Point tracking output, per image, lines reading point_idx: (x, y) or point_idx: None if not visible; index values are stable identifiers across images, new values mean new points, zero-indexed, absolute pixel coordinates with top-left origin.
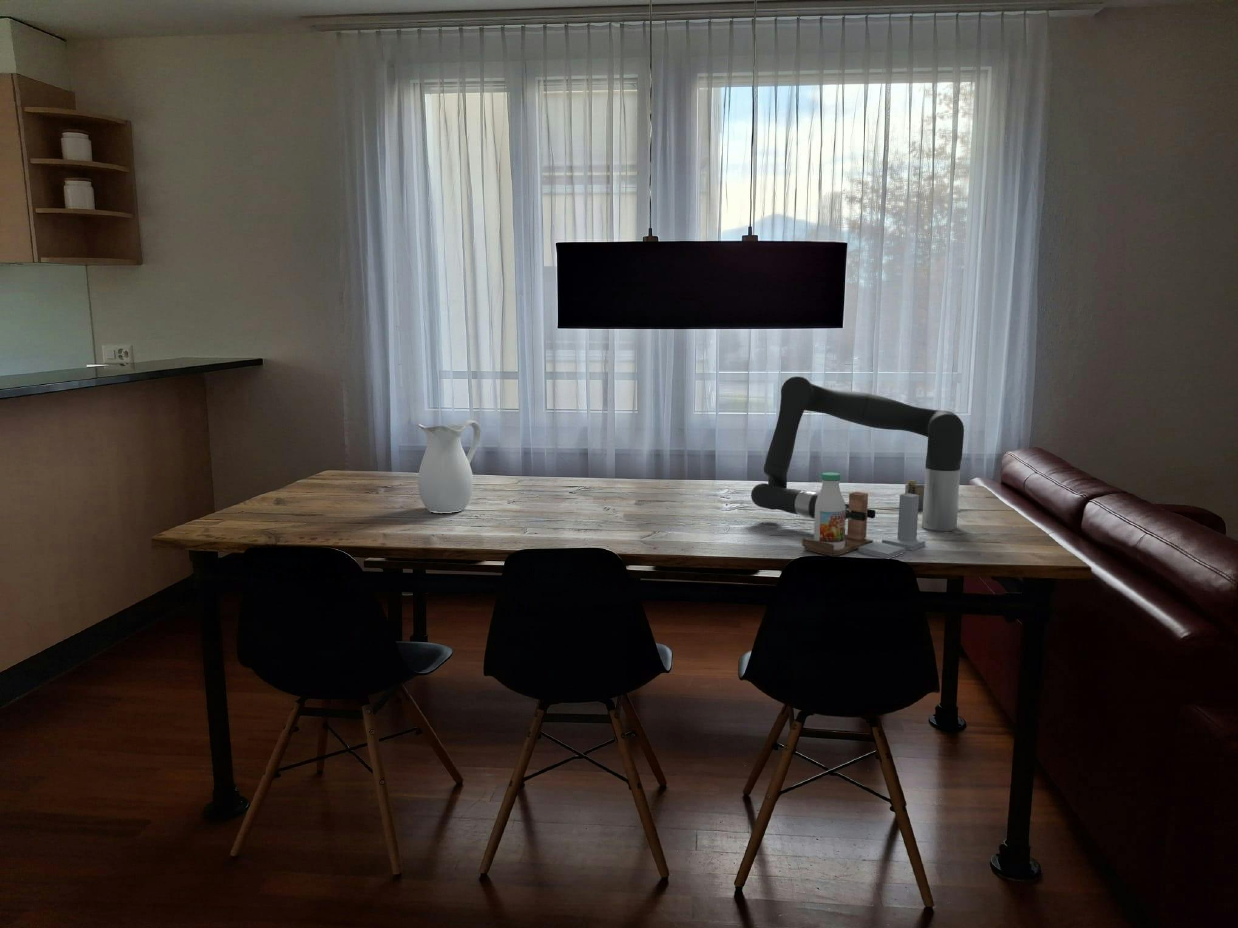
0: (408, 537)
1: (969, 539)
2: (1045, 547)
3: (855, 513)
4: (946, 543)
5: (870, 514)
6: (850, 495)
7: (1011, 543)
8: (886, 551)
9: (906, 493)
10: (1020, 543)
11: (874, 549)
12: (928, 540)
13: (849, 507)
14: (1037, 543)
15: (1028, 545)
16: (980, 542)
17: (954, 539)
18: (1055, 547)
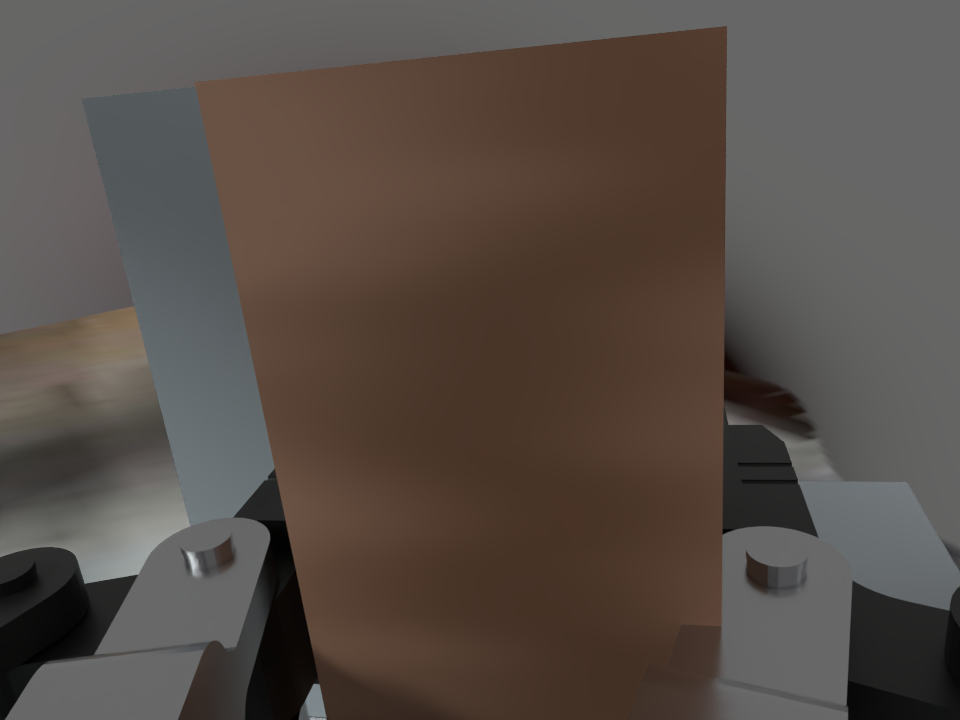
0: None
1: (17, 446)
2: (117, 322)
3: (794, 499)
4: (170, 472)
5: None
6: (715, 112)
7: (74, 366)
8: (861, 509)
9: (114, 95)
10: (65, 356)
11: (924, 579)
12: (109, 545)
13: (721, 546)
14: (50, 340)
15: (97, 342)
16: (86, 412)
17: (34, 478)
18: (107, 315)
